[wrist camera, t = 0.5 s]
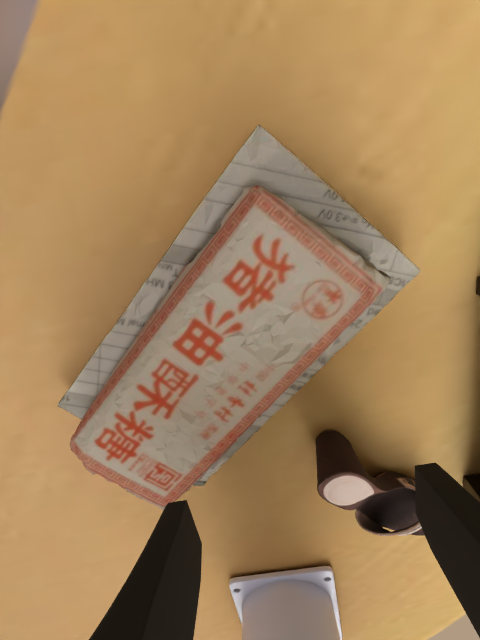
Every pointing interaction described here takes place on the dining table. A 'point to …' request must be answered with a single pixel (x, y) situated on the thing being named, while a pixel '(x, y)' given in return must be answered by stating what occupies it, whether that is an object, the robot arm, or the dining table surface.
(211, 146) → the dining table surface
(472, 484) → the slatted bench
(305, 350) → the packaged product
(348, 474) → the heeled mule
